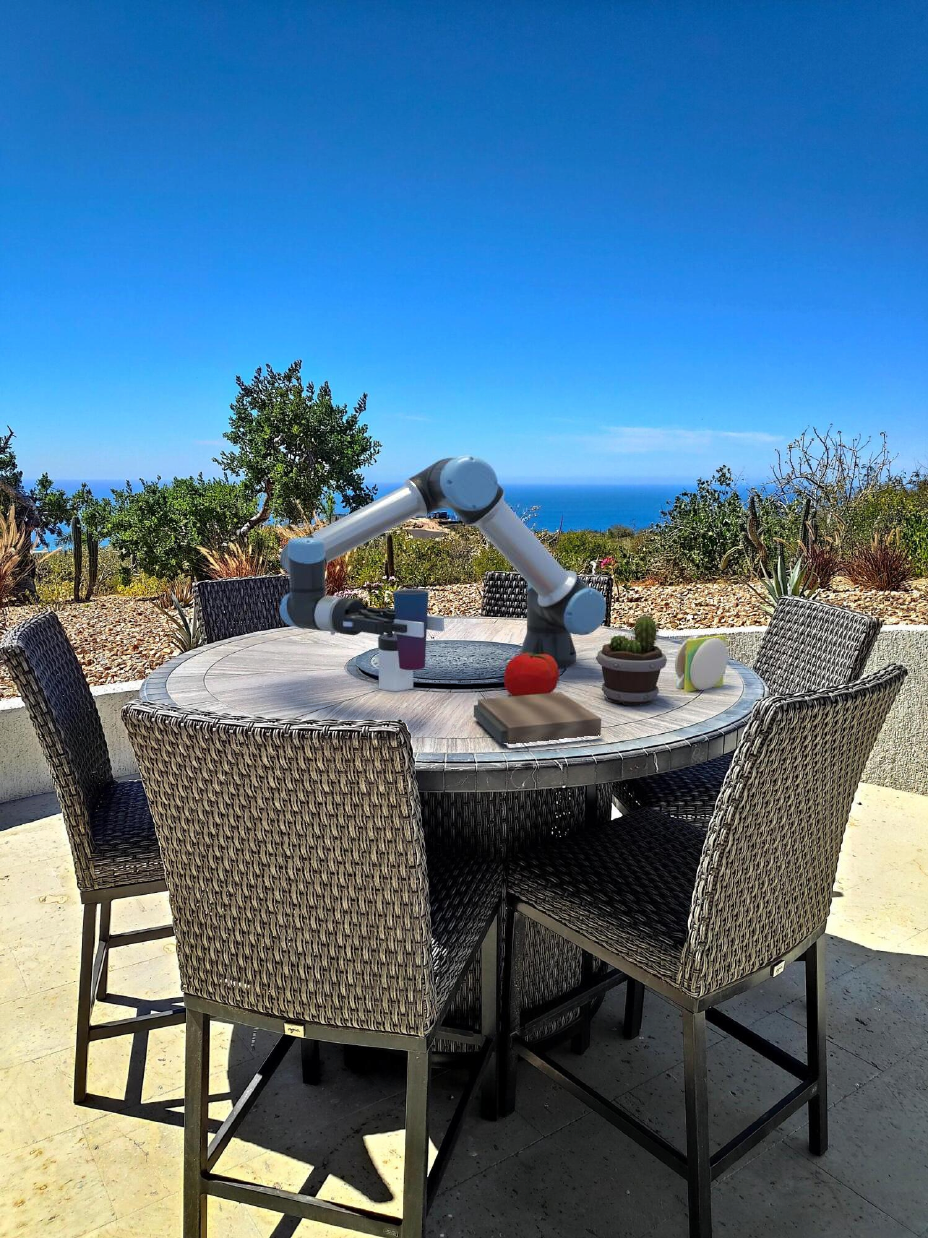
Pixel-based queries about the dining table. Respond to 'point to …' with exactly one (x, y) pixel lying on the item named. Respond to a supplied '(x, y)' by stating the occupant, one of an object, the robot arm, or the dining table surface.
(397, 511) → the robot arm
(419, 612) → the cup
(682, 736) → the dining table surface
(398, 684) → the jar
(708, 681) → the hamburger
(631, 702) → the flowerpot
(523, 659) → the tomato
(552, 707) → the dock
